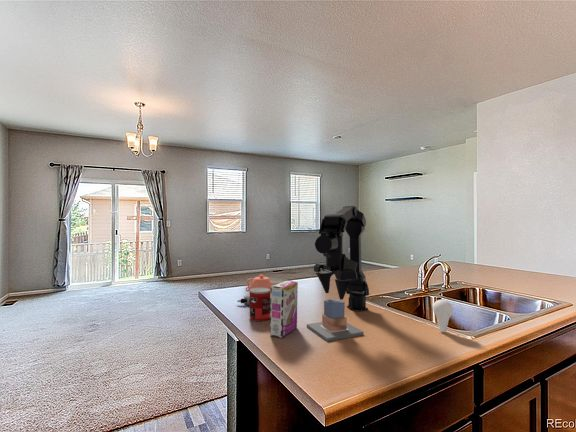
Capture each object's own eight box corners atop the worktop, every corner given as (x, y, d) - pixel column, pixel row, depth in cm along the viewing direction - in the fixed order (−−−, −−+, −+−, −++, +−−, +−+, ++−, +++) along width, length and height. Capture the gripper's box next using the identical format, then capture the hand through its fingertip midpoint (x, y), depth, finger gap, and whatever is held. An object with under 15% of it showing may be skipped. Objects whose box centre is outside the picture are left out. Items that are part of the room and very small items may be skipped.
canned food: (249, 315, 124) (249, 287, 124) (270, 314, 124) (270, 287, 124) (249, 321, 116) (249, 292, 116) (270, 321, 117) (270, 291, 117)
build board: (340, 321, 116) (340, 318, 116) (363, 334, 103) (363, 331, 103) (306, 327, 110) (306, 323, 110) (327, 341, 98) (327, 338, 98)
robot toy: (235, 307, 137) (262, 311, 128) (235, 297, 137) (261, 300, 129) (253, 301, 147) (279, 304, 139) (253, 291, 147) (278, 293, 139)
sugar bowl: (272, 298, 149) (273, 277, 149) (243, 298, 149) (243, 277, 149) (274, 292, 161) (274, 272, 161) (247, 292, 161) (247, 272, 161)
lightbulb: (445, 336, 101) (445, 303, 101) (428, 330, 107) (428, 298, 107) (457, 333, 104) (457, 300, 104) (440, 327, 110) (440, 296, 110)
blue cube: (336, 312, 110) (336, 298, 110) (344, 317, 106) (344, 302, 106) (324, 314, 108) (324, 300, 108) (331, 319, 103) (331, 304, 103)
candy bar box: (283, 339, 100) (283, 287, 100) (269, 336, 102) (269, 286, 102) (298, 327, 110) (298, 281, 110) (285, 325, 112) (285, 280, 112)
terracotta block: (337, 323, 111) (337, 312, 111) (346, 329, 105) (346, 317, 105) (322, 325, 108) (322, 314, 108) (331, 331, 103) (331, 319, 103)
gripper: (370, 252, 101) (370, 300, 101) (339, 247, 119) (339, 288, 119) (341, 254, 97) (341, 304, 97) (313, 248, 114) (313, 291, 114)
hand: (334, 296), depth 107 cm, fingers open, 9 cm apart
